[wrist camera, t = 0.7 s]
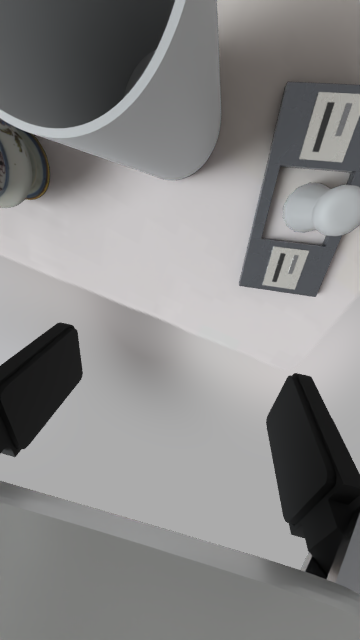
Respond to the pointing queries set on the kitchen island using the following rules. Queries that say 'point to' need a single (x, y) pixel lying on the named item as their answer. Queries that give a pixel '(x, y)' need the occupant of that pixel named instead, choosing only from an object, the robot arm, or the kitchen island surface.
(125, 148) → the cylinder vase
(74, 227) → the kitchen island surface
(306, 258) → the label board
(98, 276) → the kitchen island surface
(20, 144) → the apothecary jar
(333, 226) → the salt shaker
